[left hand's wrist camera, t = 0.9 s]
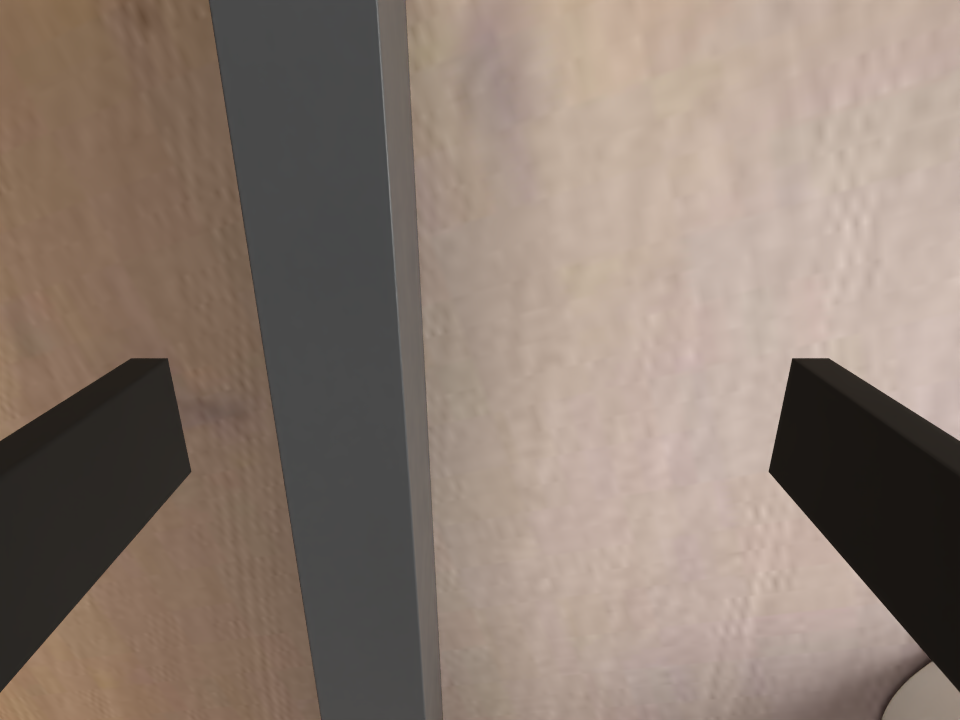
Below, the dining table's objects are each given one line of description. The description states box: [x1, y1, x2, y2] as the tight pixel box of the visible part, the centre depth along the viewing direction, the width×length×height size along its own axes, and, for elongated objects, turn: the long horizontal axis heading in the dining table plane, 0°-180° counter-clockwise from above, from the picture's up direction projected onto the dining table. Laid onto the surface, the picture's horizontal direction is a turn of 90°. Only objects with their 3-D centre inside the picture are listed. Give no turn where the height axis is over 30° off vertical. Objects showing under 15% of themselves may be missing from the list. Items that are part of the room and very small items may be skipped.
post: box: [209, 0, 443, 720], centre depth 32 cm, size 67×5×8 cm, turn 1°
